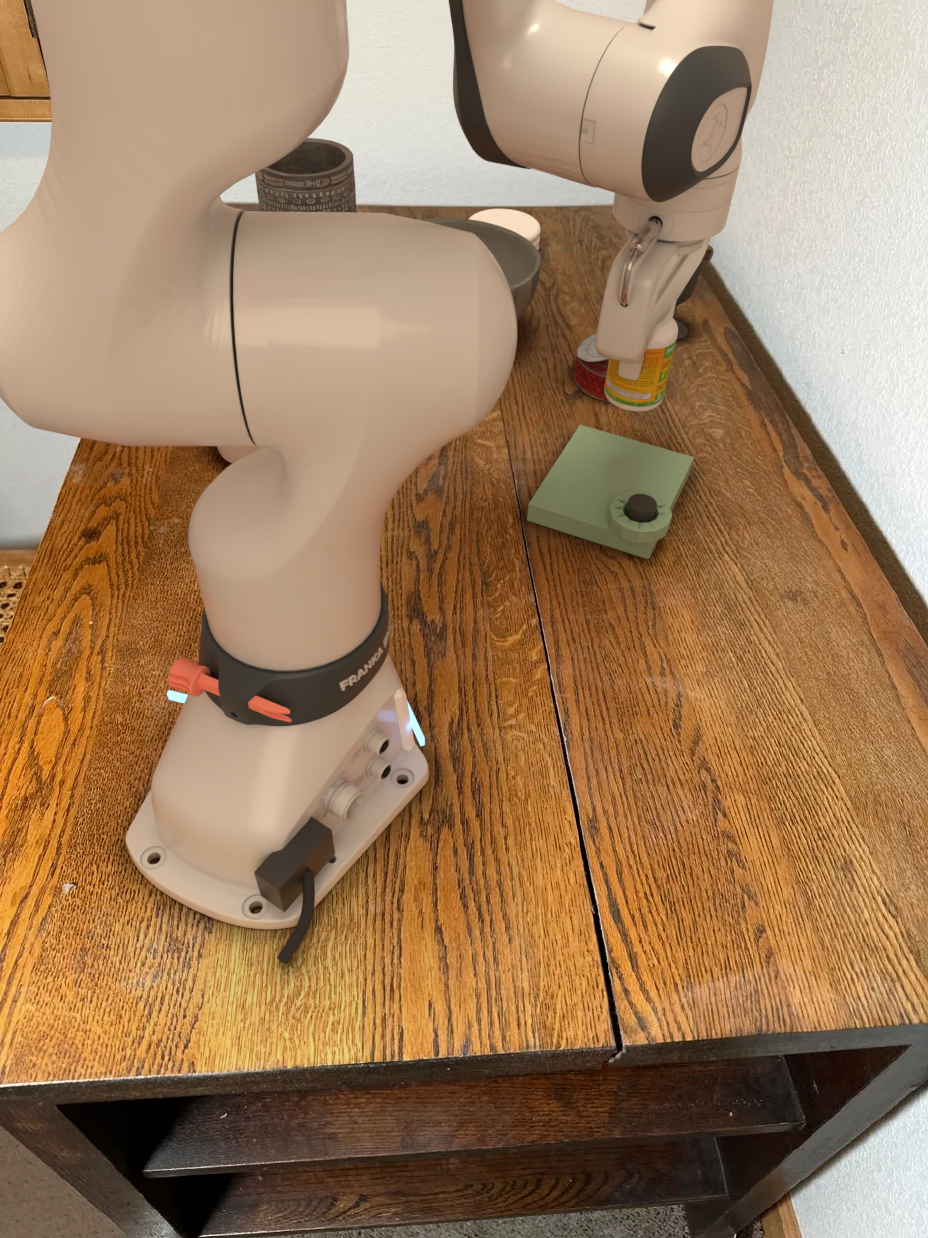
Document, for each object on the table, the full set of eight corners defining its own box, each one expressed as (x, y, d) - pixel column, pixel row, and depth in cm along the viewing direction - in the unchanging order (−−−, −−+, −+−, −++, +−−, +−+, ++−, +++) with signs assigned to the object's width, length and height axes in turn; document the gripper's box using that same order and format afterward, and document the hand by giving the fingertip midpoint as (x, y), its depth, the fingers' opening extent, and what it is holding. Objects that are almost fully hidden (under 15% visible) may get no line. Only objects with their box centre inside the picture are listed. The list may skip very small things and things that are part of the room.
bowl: (463, 276, 120) (465, 197, 113) (569, 345, 109) (579, 263, 102) (329, 321, 111) (323, 239, 104) (430, 402, 101) (430, 316, 93)
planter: (367, 274, 120) (362, 171, 110) (272, 284, 117) (258, 179, 108) (350, 232, 127) (344, 133, 118) (260, 241, 125) (247, 140, 116)
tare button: (649, 526, 83) (652, 515, 82) (621, 518, 84) (624, 506, 83) (658, 509, 84) (660, 498, 83) (630, 501, 85) (633, 490, 84)
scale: (654, 567, 84) (661, 538, 81) (523, 525, 87) (526, 496, 85) (697, 475, 93) (704, 447, 90) (577, 440, 96) (581, 412, 94)
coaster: (551, 245, 127) (554, 219, 124) (515, 273, 121) (517, 247, 118) (488, 225, 130) (490, 200, 128) (450, 252, 124) (450, 226, 122)
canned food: (605, 438, 105) (580, 382, 96) (572, 382, 110) (545, 324, 102) (697, 387, 103) (679, 325, 95) (658, 332, 108) (638, 269, 100)
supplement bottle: (661, 417, 82) (684, 316, 75) (600, 408, 83) (617, 308, 76) (664, 383, 86) (686, 284, 79) (606, 375, 86) (623, 276, 79)
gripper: (674, 261, 64) (640, 428, 74) (744, 156, 76) (707, 311, 87) (587, 240, 65) (566, 407, 76) (670, 142, 78) (642, 295, 88)
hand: (642, 355), depth 81 cm, fingers closed on supplement bottle, 5 cm apart
